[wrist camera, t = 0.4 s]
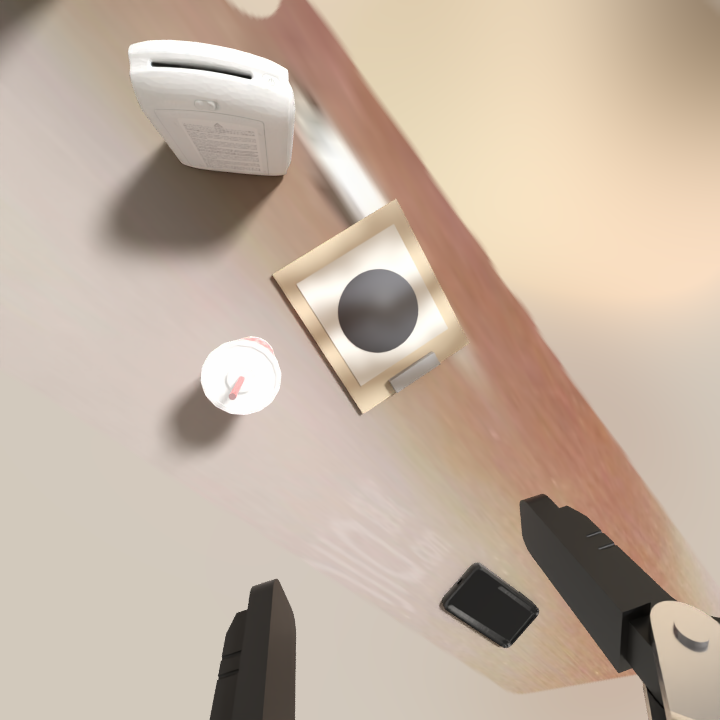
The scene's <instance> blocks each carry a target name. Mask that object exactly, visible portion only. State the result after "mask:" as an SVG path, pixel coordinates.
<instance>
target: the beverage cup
mask: <svg viewBox="0 0 720 720" xmlns="http://www.w3.org/2000/svg"><path fill="white" fill-rule="evenodd" d="M280 382H281V371H280V368H279V364H278V361H277V359H276V358H275V355H274V352H273V348H272V347H271V346H270V345H269V344H268V342H267V341H265V340H263V339H261V338H259V337H252V336H249V337H245V338H242V339H238V340H234V341H230V342H226V343H223V344H222V345H220V346H219V347H218V348H216V349H215V350H214V351H212V352H211V353H210V354H209V355H208V357H207V359H206V361H205V362H204V364H203V366H202V373H201V384H202V387H203V390H204V392H205V395H206V397H207V398H208V399H209V400H210V401H211V402H212V403H213V404H214V405H215V406H216V407H217V408H219V409H221V410H223V411H226V412H228V413H230V414H241V415H247V414H251V413H254V412H258V411H261V410H262V409H263V408H265V407H266V406H267V405H269V404H270V403H271V402H272V401H273V400H274V398H275V396H276V395H277V393H278V391H279V389H280Z"/></svg>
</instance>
